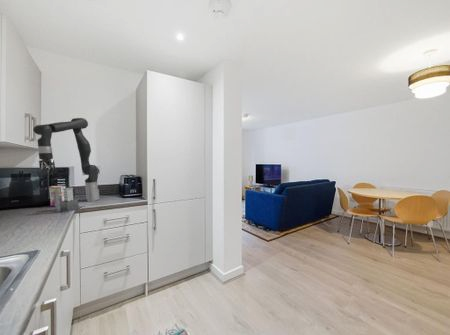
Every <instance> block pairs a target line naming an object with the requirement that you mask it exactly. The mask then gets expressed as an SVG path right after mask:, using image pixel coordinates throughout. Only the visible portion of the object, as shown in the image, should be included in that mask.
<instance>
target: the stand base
mask: <svg viewBox="0 0 450 335" xmlns="http://www.w3.org/2000/svg"><path fill="white" fill-rule="evenodd" d="M82 207H85V208H86V206H85V205H84V206H83V205H79V199H74V198H73V201H69V202H65V201H60V212H59V213H63V212H64V213H65V214H66V212H67V213H70V212H69V211H71V212H74V211H79V210H81V209H80V208H82ZM82 209H83V208H82ZM73 210H74V211H73ZM53 212H56V210H55V209H53ZM64 213H63V214H64Z"/></svg>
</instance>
